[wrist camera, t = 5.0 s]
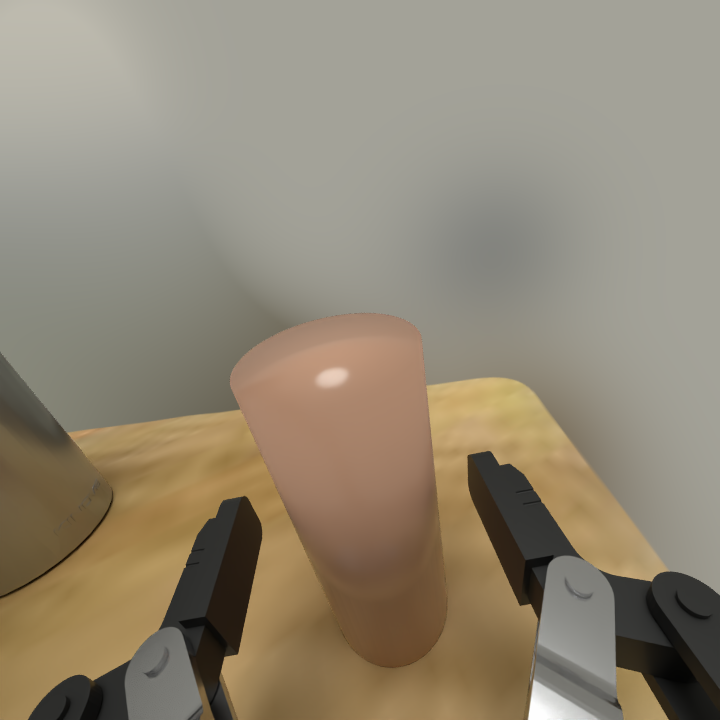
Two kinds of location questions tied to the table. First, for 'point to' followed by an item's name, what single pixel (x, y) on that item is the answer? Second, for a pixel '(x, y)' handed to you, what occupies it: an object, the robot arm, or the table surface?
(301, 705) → the table surface
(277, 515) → the table surface
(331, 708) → the table surface
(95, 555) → the table surface
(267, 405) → the pink rounded cylinder
